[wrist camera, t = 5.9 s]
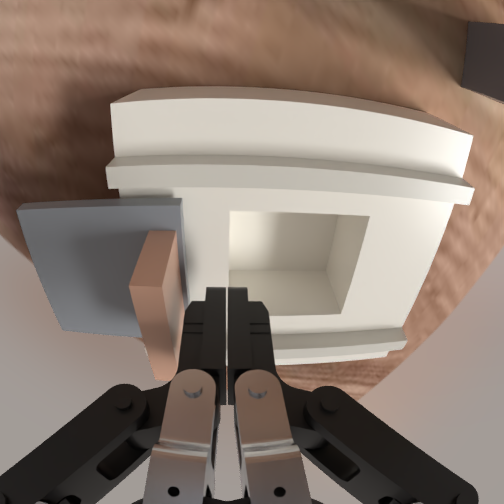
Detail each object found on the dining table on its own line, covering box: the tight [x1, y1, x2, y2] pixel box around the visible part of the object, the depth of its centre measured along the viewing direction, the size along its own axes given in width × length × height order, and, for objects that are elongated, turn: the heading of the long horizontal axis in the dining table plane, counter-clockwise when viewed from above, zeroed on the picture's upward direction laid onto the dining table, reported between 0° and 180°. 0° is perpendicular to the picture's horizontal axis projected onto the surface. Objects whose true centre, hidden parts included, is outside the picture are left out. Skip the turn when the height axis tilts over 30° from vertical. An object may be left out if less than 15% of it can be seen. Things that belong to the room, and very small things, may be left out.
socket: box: [105, 86, 475, 366], centre depth 15 cm, size 14×14×5 cm
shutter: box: [16, 198, 190, 381], centre depth 12 cm, size 7×7×4 cm
